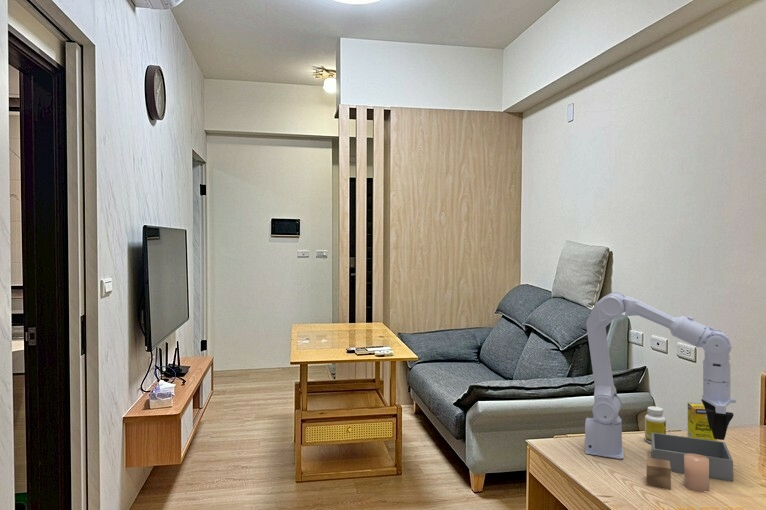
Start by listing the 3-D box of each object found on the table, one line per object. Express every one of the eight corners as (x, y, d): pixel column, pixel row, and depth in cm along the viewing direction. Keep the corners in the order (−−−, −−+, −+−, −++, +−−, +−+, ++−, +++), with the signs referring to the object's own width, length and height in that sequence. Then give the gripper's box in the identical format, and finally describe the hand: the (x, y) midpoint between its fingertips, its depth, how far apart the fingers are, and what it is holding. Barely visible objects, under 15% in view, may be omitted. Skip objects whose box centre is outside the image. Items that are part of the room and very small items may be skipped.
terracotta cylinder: (685, 489, 120) (684, 459, 120) (683, 480, 125) (683, 452, 125) (710, 493, 118) (710, 463, 118) (707, 484, 123) (707, 455, 122)
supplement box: (694, 446, 146) (694, 408, 145) (687, 439, 151) (686, 402, 151) (718, 448, 144) (717, 409, 144) (709, 440, 150) (709, 403, 150)
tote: (652, 468, 132) (652, 449, 132) (651, 450, 143) (651, 432, 143) (733, 481, 124) (732, 460, 124) (725, 460, 136) (724, 441, 136)
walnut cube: (646, 485, 123) (646, 465, 122) (646, 477, 127) (646, 457, 127) (670, 490, 120) (670, 468, 120) (669, 481, 125) (669, 460, 125)
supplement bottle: (668, 446, 146) (668, 411, 146) (648, 444, 147) (647, 410, 147) (662, 439, 152) (662, 405, 152) (642, 437, 153) (642, 405, 153)
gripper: (741, 388, 120) (741, 446, 121) (730, 374, 133) (731, 426, 134) (705, 385, 123) (705, 441, 124) (699, 372, 136) (699, 423, 137)
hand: (716, 433), depth 129 cm, fingers open, 7 cm apart
